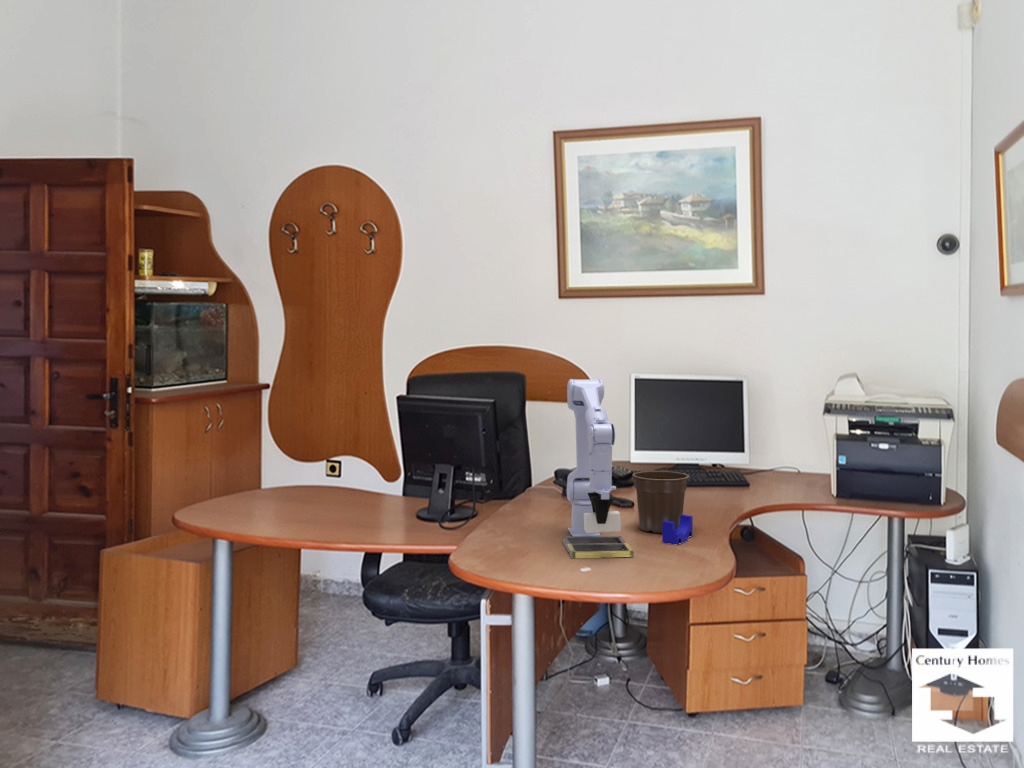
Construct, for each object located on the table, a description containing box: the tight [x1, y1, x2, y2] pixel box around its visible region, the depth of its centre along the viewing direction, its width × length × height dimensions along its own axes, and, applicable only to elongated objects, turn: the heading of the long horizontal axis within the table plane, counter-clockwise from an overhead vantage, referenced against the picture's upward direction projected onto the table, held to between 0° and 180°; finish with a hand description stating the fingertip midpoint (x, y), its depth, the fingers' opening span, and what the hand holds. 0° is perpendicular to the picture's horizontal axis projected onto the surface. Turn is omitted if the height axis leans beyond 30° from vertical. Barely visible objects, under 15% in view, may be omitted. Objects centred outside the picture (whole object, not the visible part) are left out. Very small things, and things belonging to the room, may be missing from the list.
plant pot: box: [632, 470, 690, 534], centre depth 258 cm, size 16×16×16 cm
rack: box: [562, 535, 635, 559], centre depth 234 cm, size 17×16×2 cm
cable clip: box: [662, 514, 694, 546], centre depth 245 cm, size 12×4×6 cm, turn 142°
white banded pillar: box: [584, 510, 622, 533], centre depth 229 cm, size 4×9×5 cm, turn 94°
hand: (600, 521), depth 229 cm, fingers closed on white banded pillar, 3 cm apart
